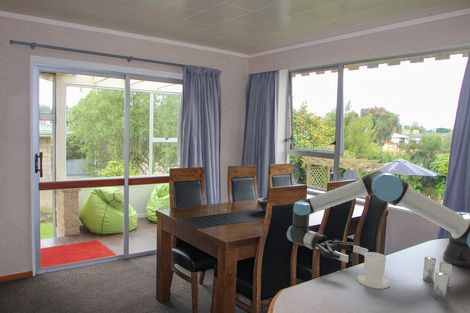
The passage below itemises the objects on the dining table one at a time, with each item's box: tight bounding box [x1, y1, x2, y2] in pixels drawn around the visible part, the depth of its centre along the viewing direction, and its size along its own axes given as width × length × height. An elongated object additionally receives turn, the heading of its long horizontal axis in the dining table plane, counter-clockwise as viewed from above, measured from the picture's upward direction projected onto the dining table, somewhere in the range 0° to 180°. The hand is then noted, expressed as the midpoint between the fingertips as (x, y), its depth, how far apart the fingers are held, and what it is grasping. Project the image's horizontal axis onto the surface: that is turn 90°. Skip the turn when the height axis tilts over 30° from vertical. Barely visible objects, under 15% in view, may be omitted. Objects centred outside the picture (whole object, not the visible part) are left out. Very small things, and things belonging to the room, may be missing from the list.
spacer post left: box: [422, 256, 437, 283], centre depth 152 cm, size 4×4×9 cm
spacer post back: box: [438, 260, 453, 289], centre depth 148 cm, size 4×4×9 cm
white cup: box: [363, 251, 387, 284], centre depth 148 cm, size 8×8×10 cm
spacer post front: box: [432, 271, 448, 302], centre depth 137 cm, size 4×4×9 cm
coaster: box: [356, 274, 391, 290], centre depth 149 cm, size 12×12×1 cm
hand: (357, 255), depth 153 cm, fingers open, 13 cm apart
